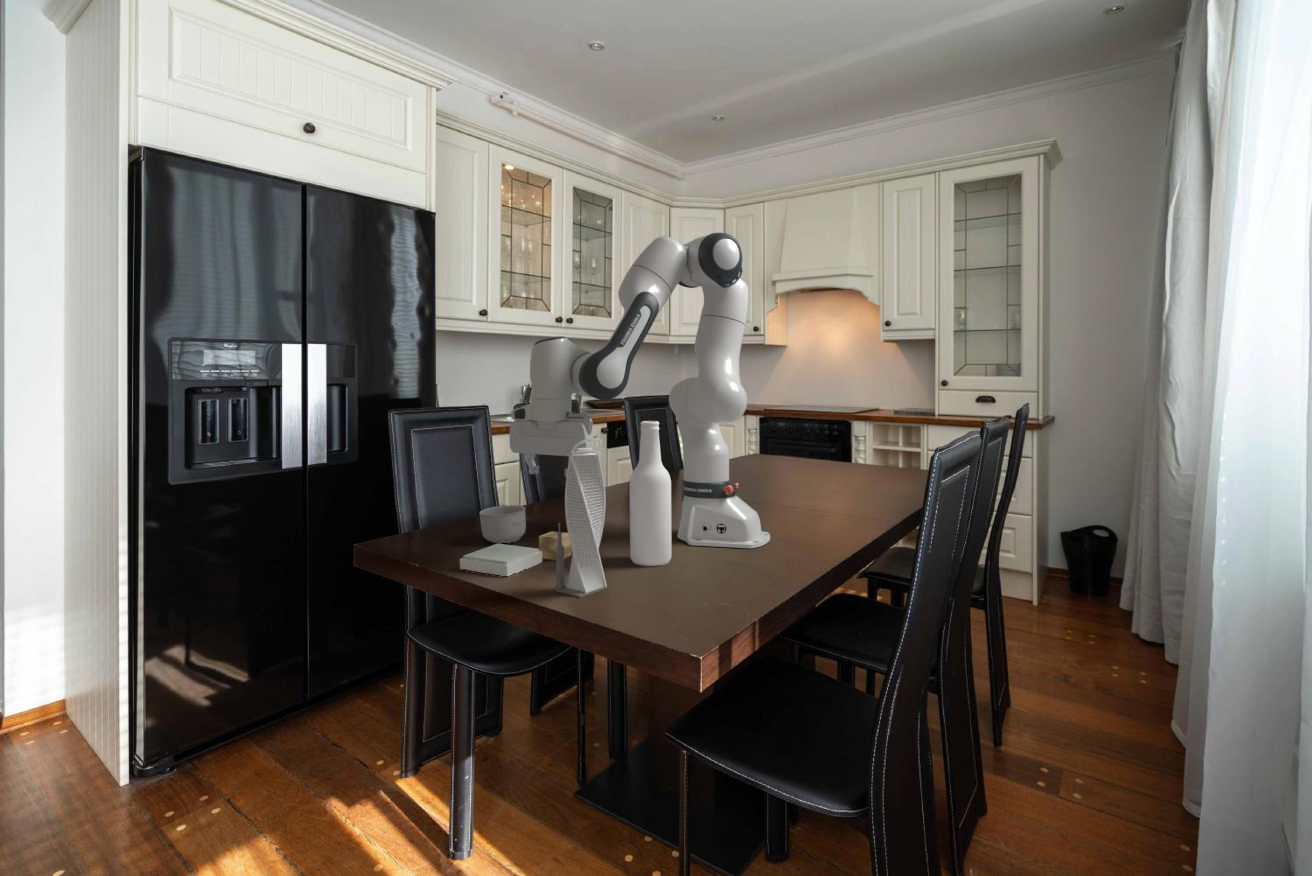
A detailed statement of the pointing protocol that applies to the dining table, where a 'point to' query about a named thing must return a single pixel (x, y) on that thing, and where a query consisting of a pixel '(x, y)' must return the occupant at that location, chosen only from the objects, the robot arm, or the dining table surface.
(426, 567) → the dining table surface
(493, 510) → the teacup
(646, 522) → the alcohol
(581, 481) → the skyscraper
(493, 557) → the stand
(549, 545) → the oak cube
